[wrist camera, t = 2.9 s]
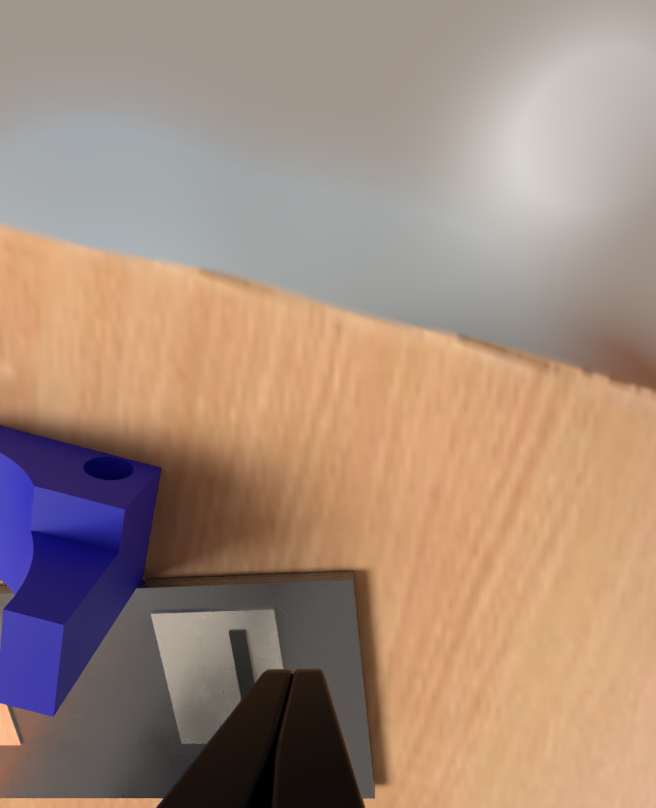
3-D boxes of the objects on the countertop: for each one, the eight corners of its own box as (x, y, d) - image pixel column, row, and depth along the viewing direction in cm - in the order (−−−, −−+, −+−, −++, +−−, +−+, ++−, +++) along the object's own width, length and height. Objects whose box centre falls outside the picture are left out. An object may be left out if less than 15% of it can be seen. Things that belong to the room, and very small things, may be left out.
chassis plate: (374, 785, 22) (374, 803, 21) (-128, 786, 24) (-141, 801, 23) (353, 571, 19) (352, 583, 18) (-219, 594, 21) (-238, 606, 20)
